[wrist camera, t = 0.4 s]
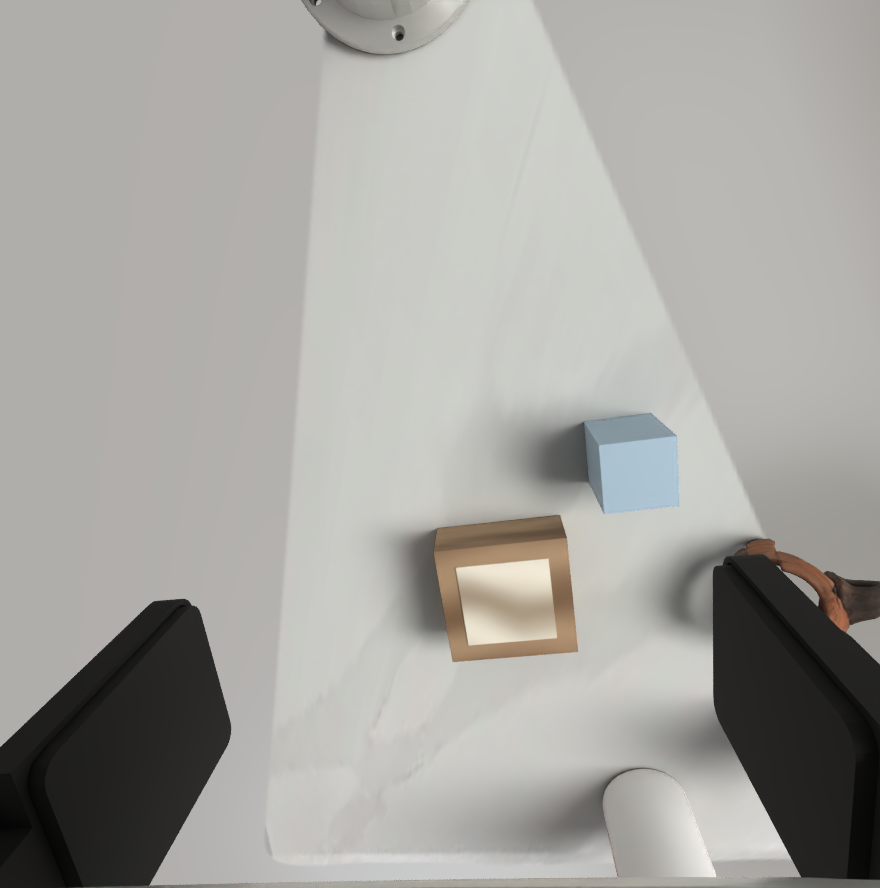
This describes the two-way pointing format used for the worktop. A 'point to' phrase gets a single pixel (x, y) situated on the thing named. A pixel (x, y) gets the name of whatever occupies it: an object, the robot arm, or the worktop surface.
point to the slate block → (632, 463)
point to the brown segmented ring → (826, 586)
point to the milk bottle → (653, 827)
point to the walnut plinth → (506, 589)
